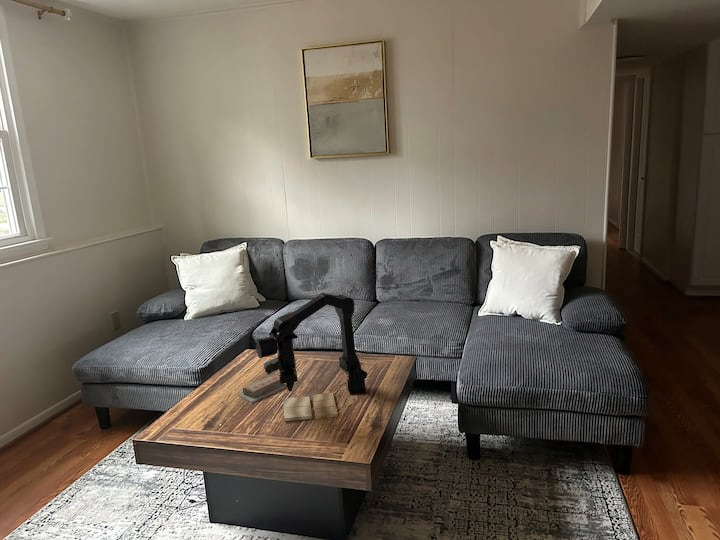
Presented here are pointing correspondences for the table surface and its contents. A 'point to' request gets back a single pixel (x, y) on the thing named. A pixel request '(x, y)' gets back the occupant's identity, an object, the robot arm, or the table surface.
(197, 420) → the table surface
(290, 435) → the table surface
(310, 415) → the beige grooved panel
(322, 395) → the laid board
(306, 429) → the table surface
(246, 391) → the packaged product
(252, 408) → the table surface
